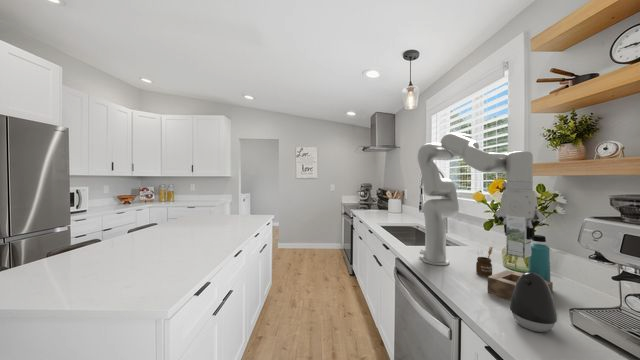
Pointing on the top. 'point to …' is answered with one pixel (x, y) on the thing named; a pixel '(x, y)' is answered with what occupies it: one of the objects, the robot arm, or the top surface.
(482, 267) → the brown jar with stick
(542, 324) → the dark grey egg shape
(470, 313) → the top surface
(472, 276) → the top surface
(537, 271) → the beverage bottle
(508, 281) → the wooden tray
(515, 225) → the syrup box
